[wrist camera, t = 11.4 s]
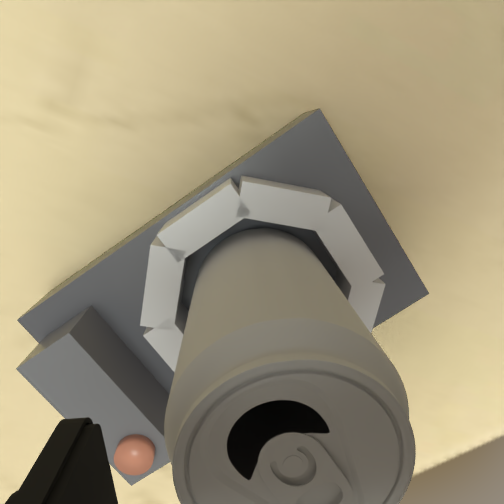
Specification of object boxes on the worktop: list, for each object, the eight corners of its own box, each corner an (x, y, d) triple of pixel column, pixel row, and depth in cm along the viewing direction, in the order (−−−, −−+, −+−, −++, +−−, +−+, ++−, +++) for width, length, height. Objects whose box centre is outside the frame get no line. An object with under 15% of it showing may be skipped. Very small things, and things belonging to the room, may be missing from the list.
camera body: (304, 112, 23) (339, 102, 15) (398, 269, 25) (467, 324, 18) (50, 290, 25) (-26, 357, 17) (163, 417, 27) (139, 520, 20)
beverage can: (278, 198, 20) (343, 287, 8) (345, 300, 21) (480, 494, 10) (170, 271, 20) (93, 446, 9) (244, 364, 22) (258, 615, 11)
